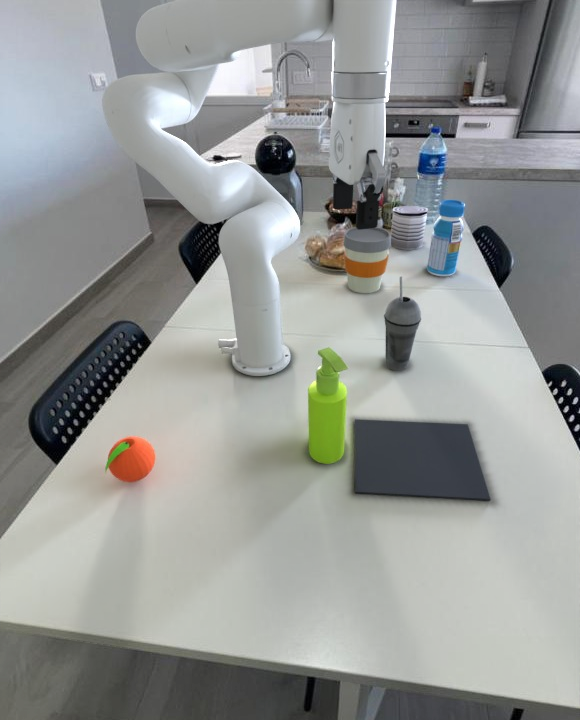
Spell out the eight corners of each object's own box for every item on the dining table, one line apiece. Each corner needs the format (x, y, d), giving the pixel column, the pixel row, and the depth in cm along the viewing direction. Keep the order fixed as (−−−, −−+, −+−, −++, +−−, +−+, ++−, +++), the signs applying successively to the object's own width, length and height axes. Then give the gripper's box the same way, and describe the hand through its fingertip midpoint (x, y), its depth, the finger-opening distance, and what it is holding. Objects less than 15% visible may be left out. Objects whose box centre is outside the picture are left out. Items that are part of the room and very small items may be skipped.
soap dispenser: (322, 473, 71) (323, 373, 59) (302, 445, 76) (300, 347, 64) (353, 460, 73) (360, 361, 62) (332, 433, 78) (335, 337, 67)
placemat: (355, 493, 68) (355, 491, 68) (354, 420, 81) (354, 419, 81) (490, 500, 66) (490, 499, 66) (467, 425, 79) (467, 424, 79)
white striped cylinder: (388, 249, 147) (392, 212, 140) (389, 236, 156) (392, 202, 149) (424, 250, 146) (429, 214, 139) (422, 238, 155) (427, 203, 148)
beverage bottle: (425, 275, 130) (435, 206, 119) (427, 264, 137) (437, 197, 125) (455, 278, 128) (468, 208, 117) (456, 267, 135) (469, 199, 123)
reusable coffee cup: (393, 282, 127) (399, 230, 118) (374, 300, 118) (379, 246, 109) (354, 273, 132) (357, 222, 124) (333, 289, 124) (334, 236, 115)
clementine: (128, 503, 67) (116, 471, 63) (99, 484, 70) (85, 452, 66) (168, 468, 72) (159, 436, 68) (139, 451, 75) (129, 420, 71)
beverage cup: (413, 376, 91) (427, 287, 80) (377, 372, 92) (386, 284, 81) (414, 356, 97) (427, 270, 85) (380, 352, 98) (388, 268, 87)
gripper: (313, 84, 65) (313, 204, 75) (359, 95, 51) (351, 240, 61) (361, 82, 66) (355, 200, 76) (417, 93, 53) (401, 233, 63)
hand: (353, 217), depth 69 cm, fingers open, 9 cm apart
